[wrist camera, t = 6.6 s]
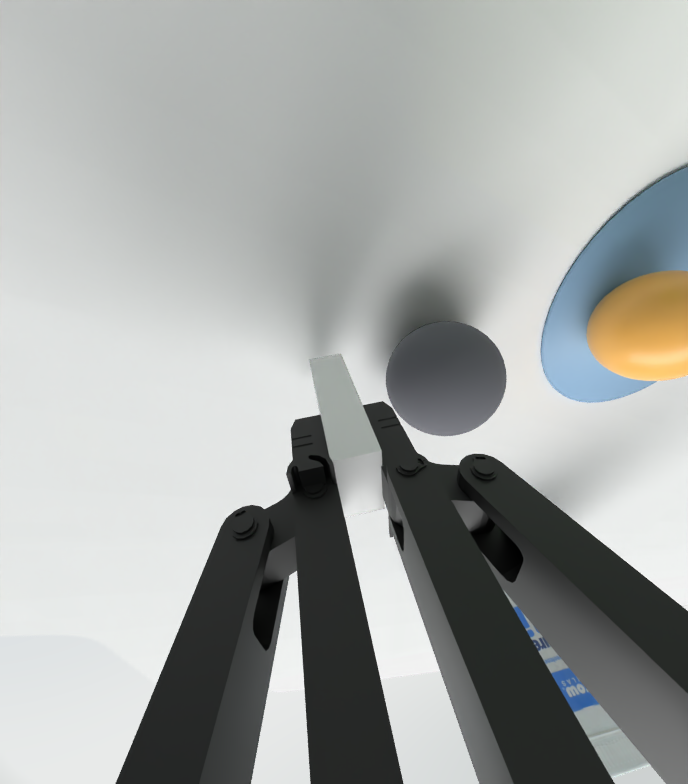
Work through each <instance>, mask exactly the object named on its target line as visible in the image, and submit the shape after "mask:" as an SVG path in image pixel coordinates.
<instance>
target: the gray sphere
mask: <svg viewBox="0 0 688 784" xmlns="http://www.w3.org/2000/svg"><path fill="white" fill-rule="evenodd" d="M386 387H387V392H388V396H389V399H390V401H391V403H392V405H393V407H394V409H395V410H396V411H397V413H398V414H399V416H400V417H401V418H402V419H403V420H404V421H406V422H407V423H408V424H409V425H411V426H412V427H414V428H416V429H418V430H420V431H422V432H425V433H428V434H432V435H438V436H453V435H459V434H463V433H466V432H469V431H471V430H473V429H475V428H477V427H479V426H480V425H482V424H483V423H484V422H486V421H487V420H488V419H489V418H490V417H491V416H492V415H493V413H494V412H495V411H496V409H497V408H498V406H499V404H500V403H501V400H502V398H503V395H504V392H505V388H506V369H505V364H504V360H503V358H502V356H501V353H500V352H499V350H498V348H497V347H496V345H495V344H494V343H493V342H492V341H491V340H490V339H489V338H488V336H486V335H485V334H484V333H482V332H481V331H479V330H478V329H476V328H474V327H472V326H469V325H466V324H463V323H458V322H450V321H445V322H436V323H431V324H428V325H425V326H422V327H420V328H418V329H416V330H414V331H413V332H411V333H410V334H409V335H407V336H406V337H405V338H404V339H403V340H402V341H401V342H400V343H399V344H398V346H397V347H396V349H395V350H394V352H393V353H392V355H391V358H390V360H389V363H388V367H387V372H386Z"/></svg>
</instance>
